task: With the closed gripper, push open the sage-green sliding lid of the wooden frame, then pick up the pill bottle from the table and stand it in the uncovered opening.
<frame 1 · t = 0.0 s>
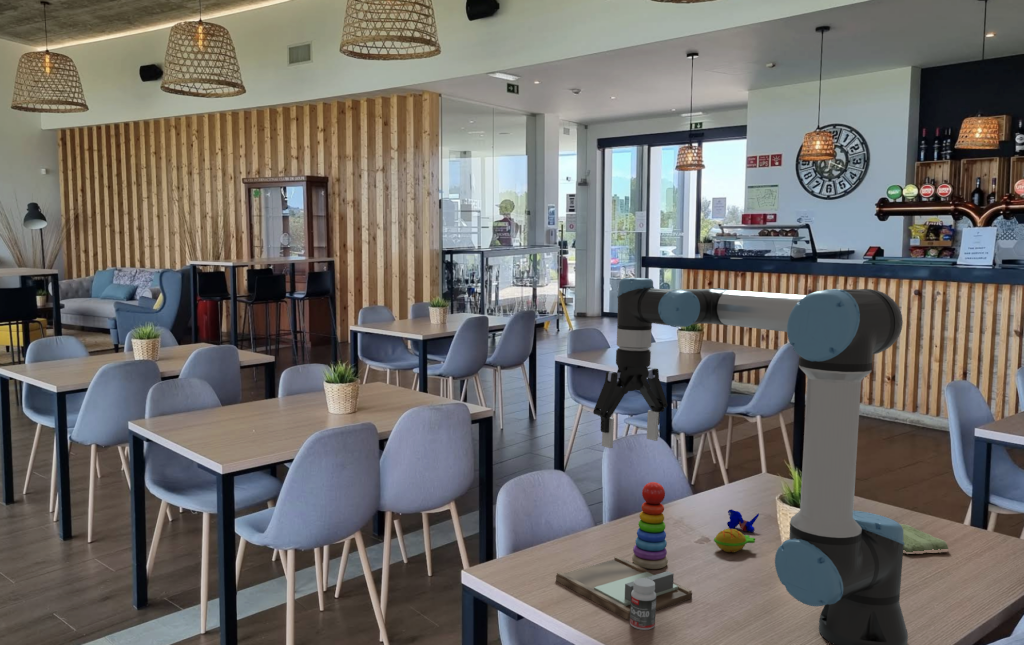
hand: (630, 443, 181), 28 cm above the table, fingers open, 13 cm apart
pill bottle: (642, 625, 155), on the table
toy pineapple: (733, 551, 194), on the table
washcloth: (903, 544, 203), on the table
stacking toy: (649, 564, 185), on the table
figurine: (741, 530, 210), on the table
lid: (636, 581, 167), point 3 cm above the table, slide at 0.0 cm
wooden frame: (622, 589, 171), on the table
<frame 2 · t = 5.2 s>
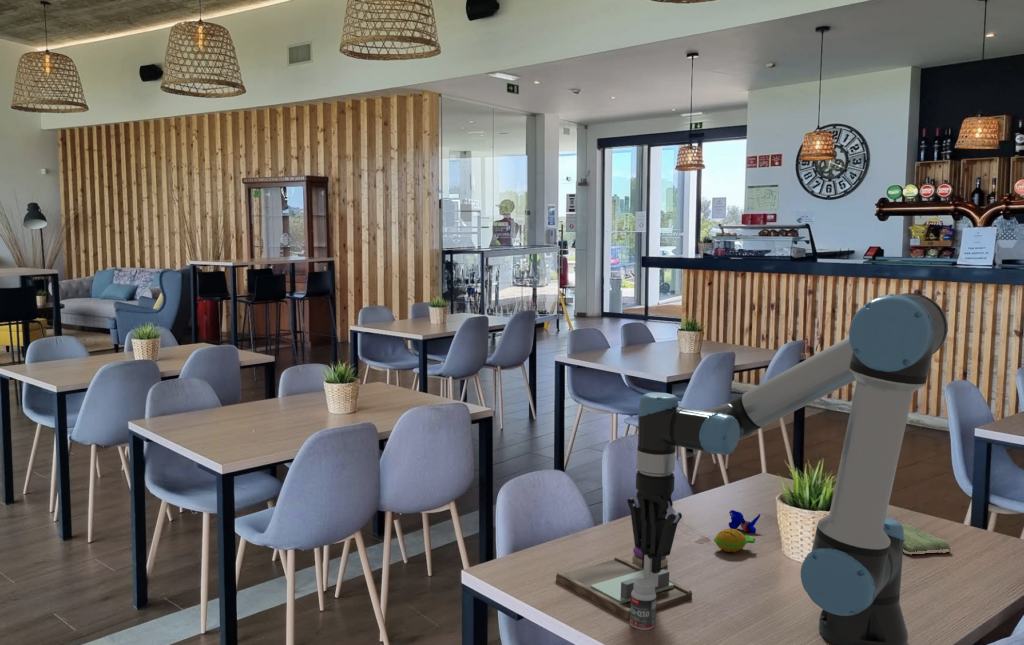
hand: (650, 586, 164), 4 cm above the table, fingers closed
lid: (632, 579, 168), point 3 cm above the table, slide at 1.2 cm, touching gripper
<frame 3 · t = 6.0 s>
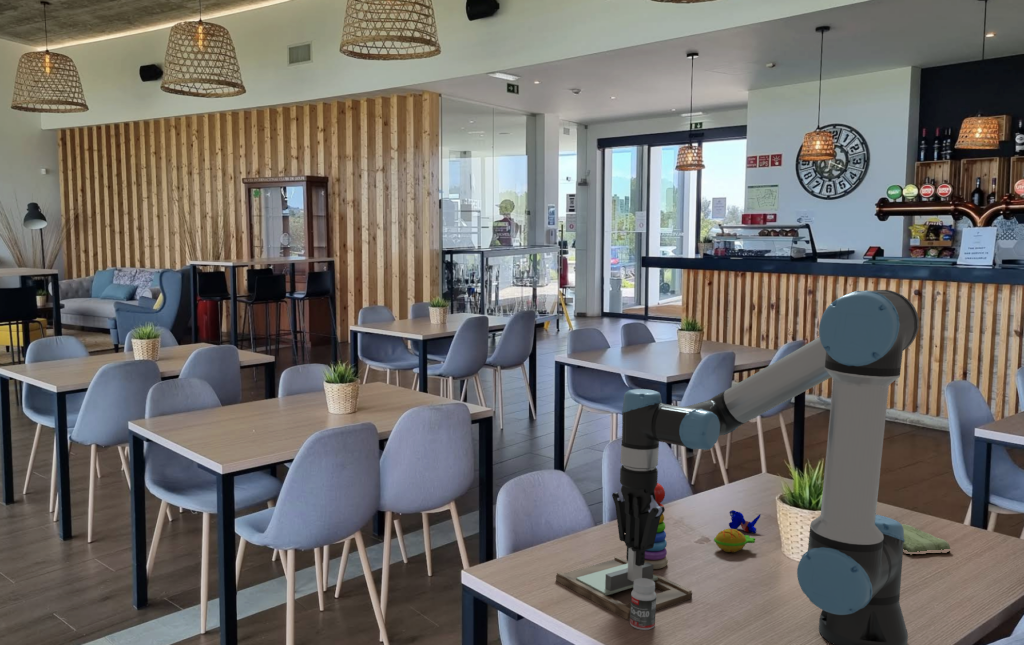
hand: (634, 578, 167), 4 cm above the table, fingers closed
lid: (617, 571, 172), point 3 cm above the table, slide at 5.7 cm, touching gripper
everything else where it was.
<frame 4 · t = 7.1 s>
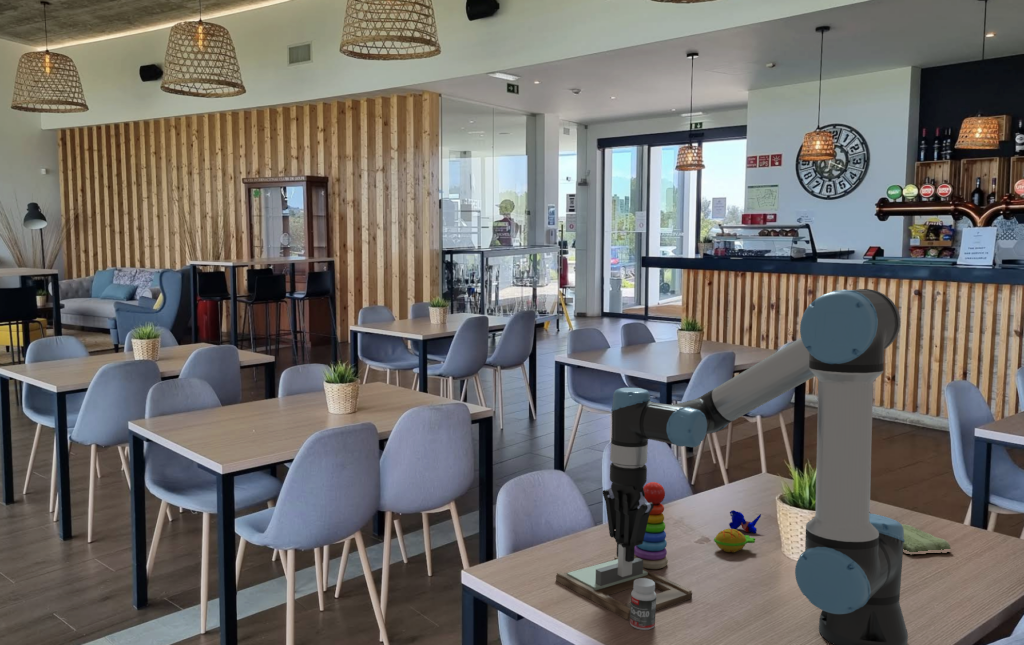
hand: (624, 574, 170), 3 cm above the table, fingers closed
lid: (607, 567, 174), point 3 cm above the table, slide at 8.7 cm, touching gripper
everything else where it was.
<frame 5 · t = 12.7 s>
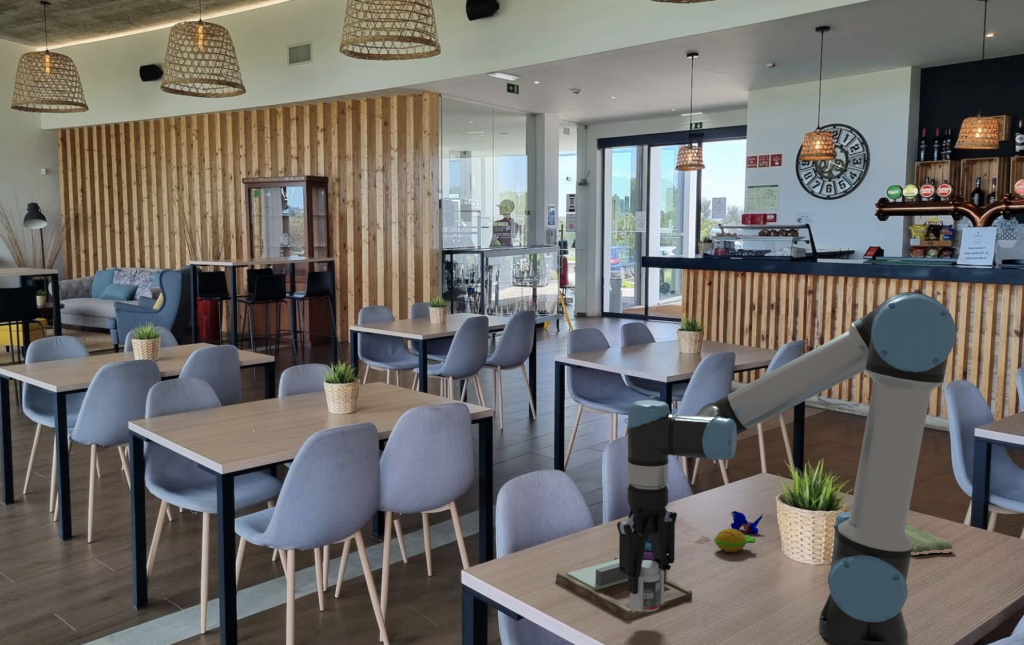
hand: (647, 605, 154), 4 cm above the table, fingers closed on pill bottle, 5 cm apart
pill bottle: (646, 607, 154), point 3 cm above the table, touching gripper
lid: (607, 567, 174), point 3 cm above the table, slide at 8.7 cm
when the fingers open (1 cm above the table, at t = 17.1 s): pill bottle stays where it is, resting in wooden frame.
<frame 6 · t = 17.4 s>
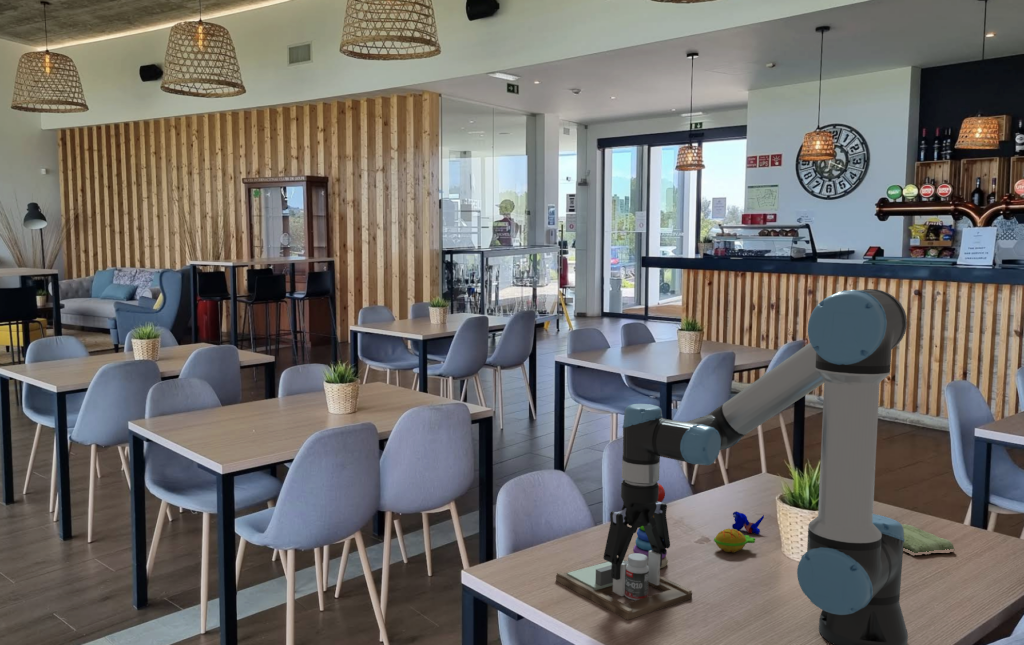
hand: (636, 588, 167), 2 cm above the table, fingers open, 9 cm apart
pill bottle: (636, 597, 167), resting in wooden frame
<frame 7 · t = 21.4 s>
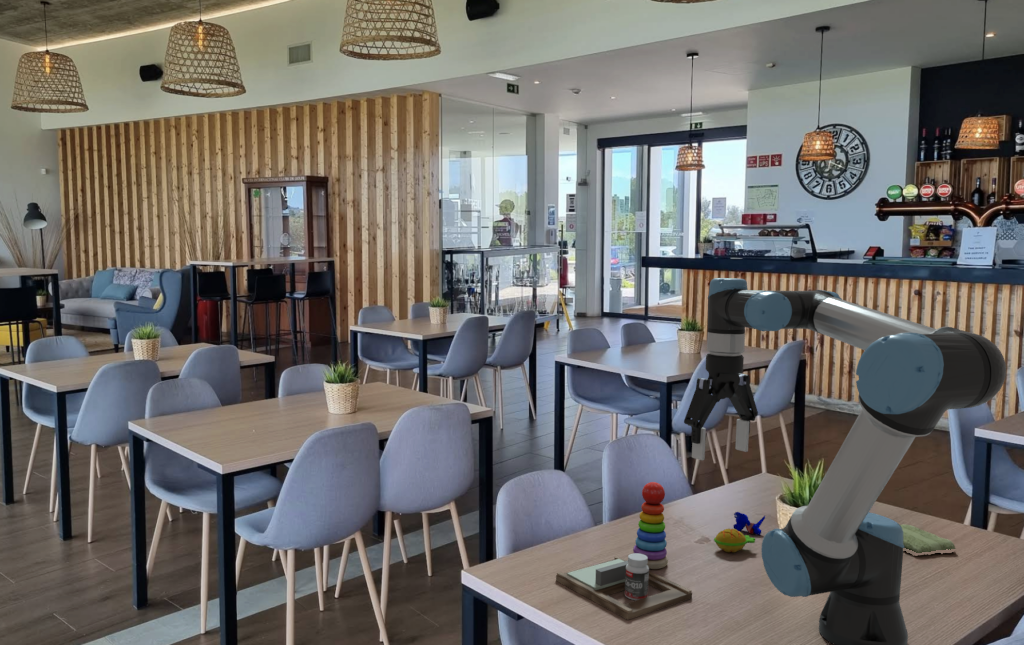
hand: (720, 454, 170), 29 cm above the table, fingers open, 13 cm apart
at the end: lid slide at 8.7 cm; pill bottle inside the target area (0.1 cm from its centre), resting in wooden frame; pill bottle tilted 0° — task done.
